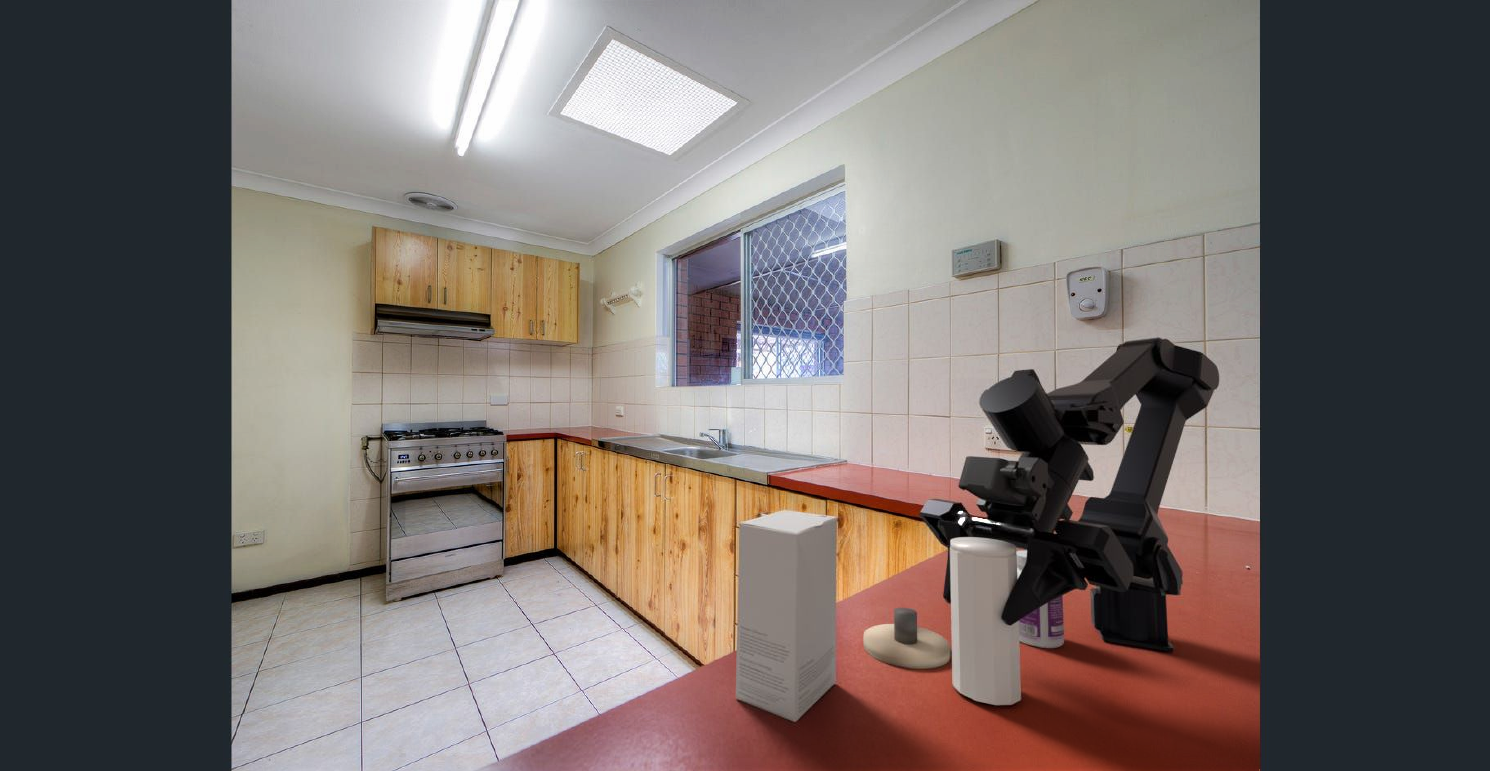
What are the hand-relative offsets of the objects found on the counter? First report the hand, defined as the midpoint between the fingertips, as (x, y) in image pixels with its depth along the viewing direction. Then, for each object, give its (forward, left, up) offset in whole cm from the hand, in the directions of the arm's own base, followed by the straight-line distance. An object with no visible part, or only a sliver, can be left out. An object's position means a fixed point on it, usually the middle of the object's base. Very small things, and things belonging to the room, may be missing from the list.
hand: (974, 610), depth 47 cm
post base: (+7, -7, -7) cm, 13 cm away
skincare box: (+15, +7, -8) cm, 19 cm away
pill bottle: (-6, -17, -8) cm, 20 cm away
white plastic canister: (-1, -1, -7) cm, 7 cm away
